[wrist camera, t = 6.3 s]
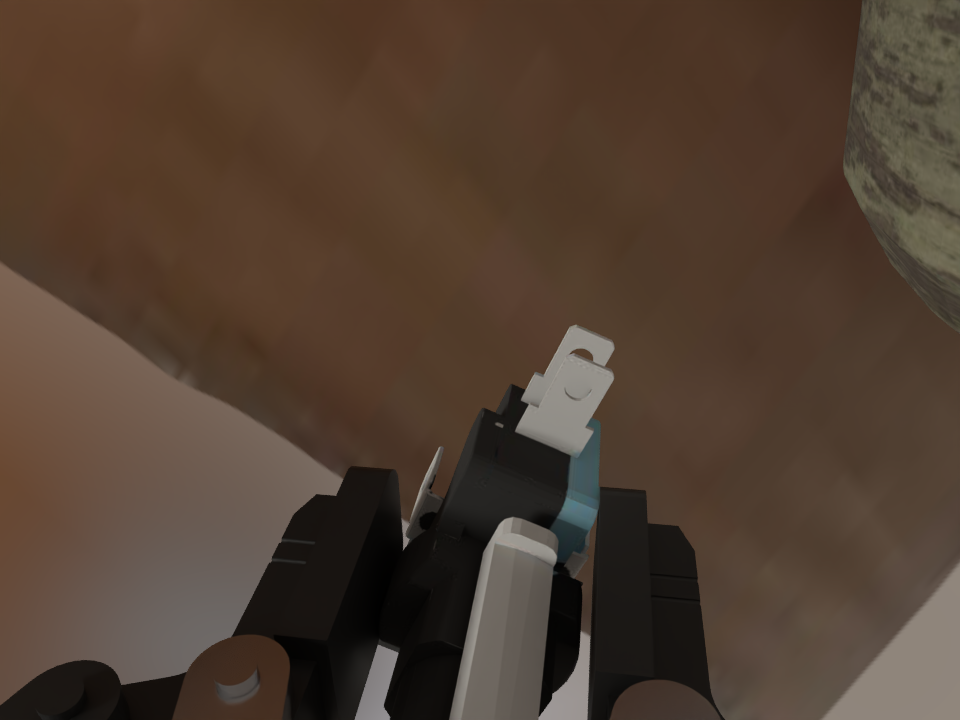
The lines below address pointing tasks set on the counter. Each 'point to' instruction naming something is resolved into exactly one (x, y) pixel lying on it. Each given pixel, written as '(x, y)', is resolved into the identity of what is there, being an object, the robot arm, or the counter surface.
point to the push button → (502, 553)
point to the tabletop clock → (910, 142)
